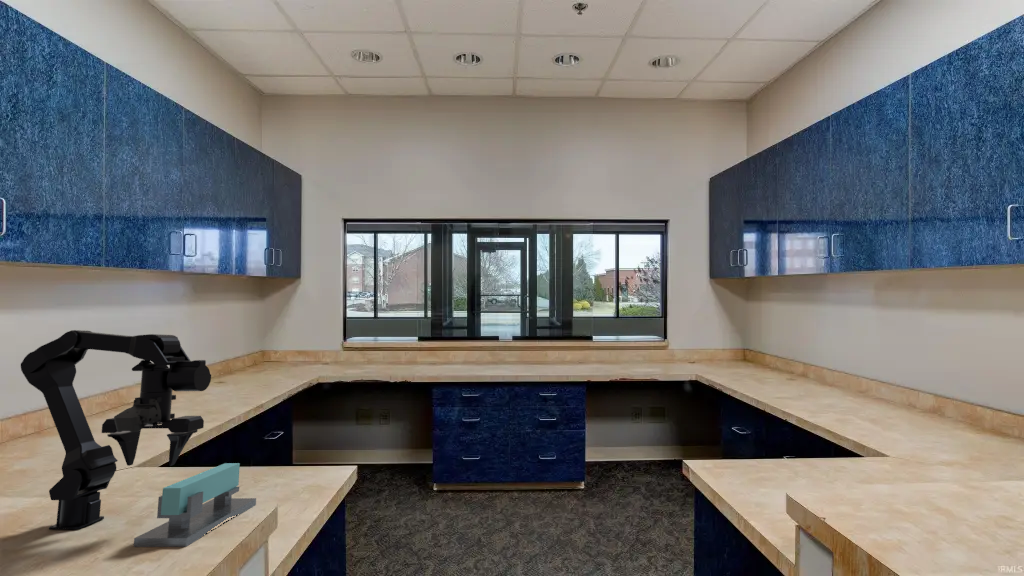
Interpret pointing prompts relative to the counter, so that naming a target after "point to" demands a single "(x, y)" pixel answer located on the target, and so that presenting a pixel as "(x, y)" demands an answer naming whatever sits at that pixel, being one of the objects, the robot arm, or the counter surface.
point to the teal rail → (199, 487)
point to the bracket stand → (194, 520)
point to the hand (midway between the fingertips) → (150, 465)
